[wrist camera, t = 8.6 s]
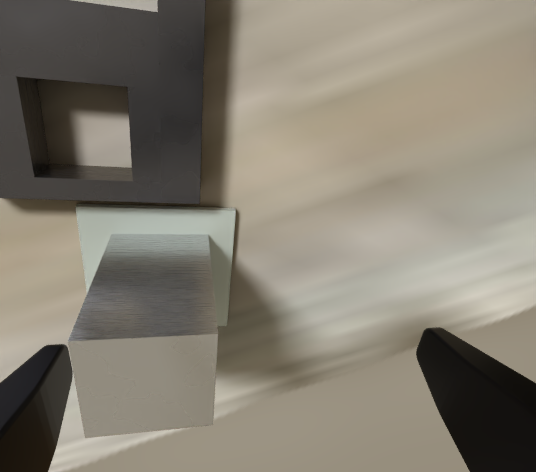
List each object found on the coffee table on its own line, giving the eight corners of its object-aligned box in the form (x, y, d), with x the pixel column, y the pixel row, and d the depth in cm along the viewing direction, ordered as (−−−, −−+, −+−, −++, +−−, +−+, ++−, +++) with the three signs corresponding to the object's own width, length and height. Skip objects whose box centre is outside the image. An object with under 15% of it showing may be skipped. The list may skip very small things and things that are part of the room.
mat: (235, 208, 20) (235, 210, 20) (226, 321, 24) (227, 326, 24) (77, 203, 19) (75, 206, 18) (93, 327, 22) (92, 331, 22)
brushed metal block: (208, 234, 20) (218, 333, 13) (205, 307, 23) (213, 425, 16) (111, 233, 19) (68, 341, 12) (118, 310, 22) (85, 438, 15)
